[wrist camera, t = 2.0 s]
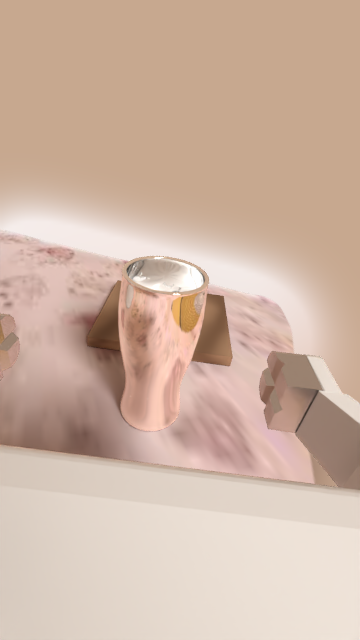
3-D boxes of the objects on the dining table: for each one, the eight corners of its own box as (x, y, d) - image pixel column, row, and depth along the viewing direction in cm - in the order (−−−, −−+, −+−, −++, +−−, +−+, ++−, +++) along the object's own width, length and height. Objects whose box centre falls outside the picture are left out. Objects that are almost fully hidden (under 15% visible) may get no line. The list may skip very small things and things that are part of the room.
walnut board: (87, 345, 37) (87, 336, 36) (117, 288, 50) (117, 280, 49) (229, 366, 37) (232, 357, 36) (221, 303, 51) (223, 296, 50)
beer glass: (122, 378, 33) (127, 250, 25) (183, 385, 33) (209, 261, 25) (108, 432, 27) (109, 287, 19) (183, 439, 28) (215, 301, 19)
